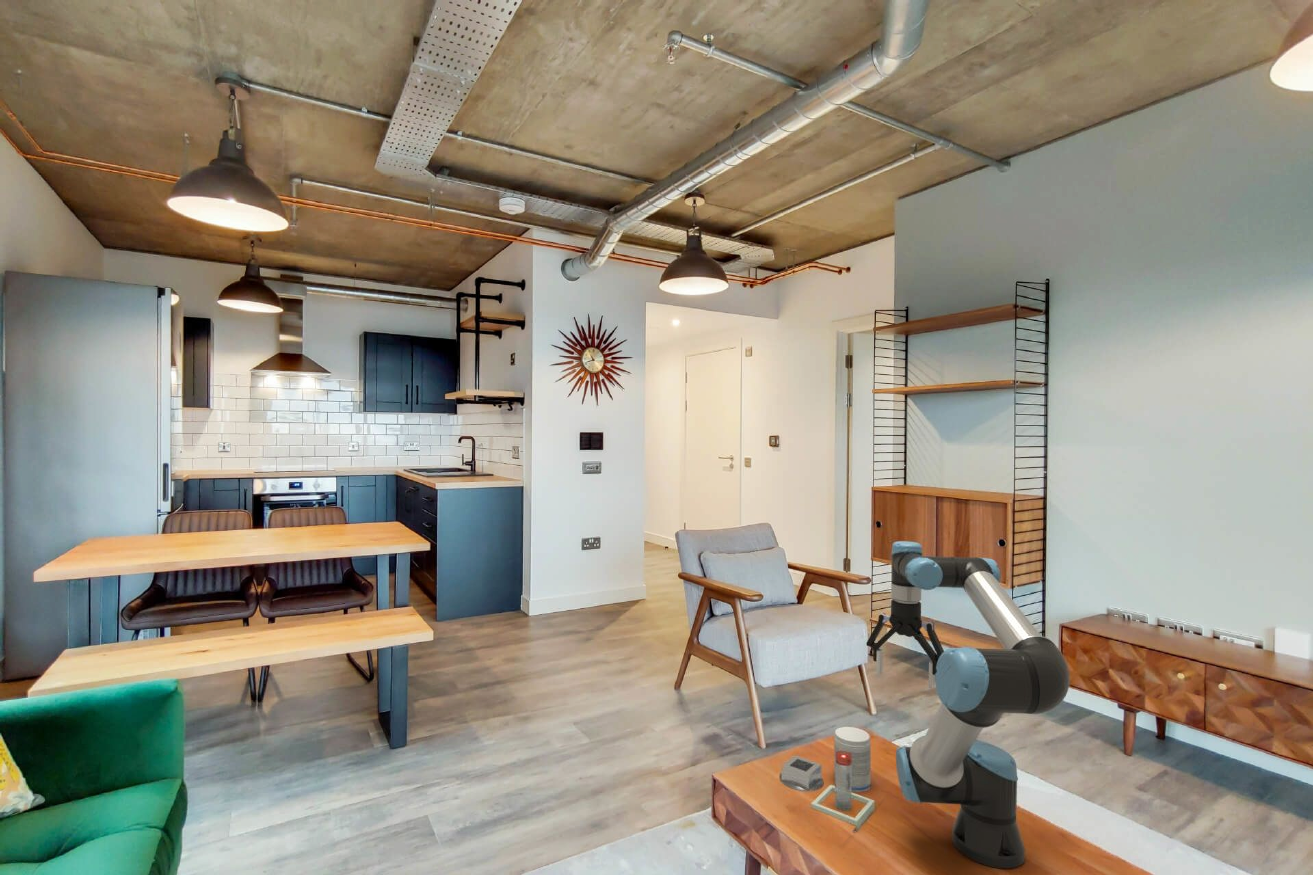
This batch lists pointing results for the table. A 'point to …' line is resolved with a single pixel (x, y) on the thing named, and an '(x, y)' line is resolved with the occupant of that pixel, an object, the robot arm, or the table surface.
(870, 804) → the tray
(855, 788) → the supplement tub
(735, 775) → the table surface
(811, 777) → the grey socket fixture
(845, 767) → the red capped bottle
